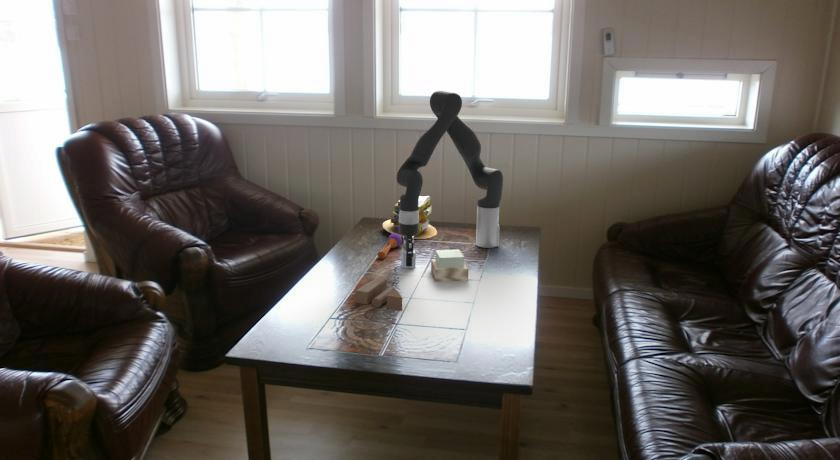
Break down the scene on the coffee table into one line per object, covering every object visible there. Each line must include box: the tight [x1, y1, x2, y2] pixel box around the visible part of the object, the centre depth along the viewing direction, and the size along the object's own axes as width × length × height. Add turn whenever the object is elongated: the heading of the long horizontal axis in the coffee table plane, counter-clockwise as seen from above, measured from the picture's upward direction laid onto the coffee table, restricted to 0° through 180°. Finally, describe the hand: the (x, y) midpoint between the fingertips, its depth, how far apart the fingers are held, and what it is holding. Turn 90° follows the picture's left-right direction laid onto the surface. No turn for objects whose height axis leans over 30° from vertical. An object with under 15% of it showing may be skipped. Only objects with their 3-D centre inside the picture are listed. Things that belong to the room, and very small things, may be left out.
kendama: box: [377, 233, 403, 260], centre depth 270 cm, size 6×6×20 cm
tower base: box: [430, 258, 470, 283], centre depth 243 cm, size 12×12×5 cm
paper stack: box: [382, 195, 438, 240], centre depth 297 cm, size 25×25×17 cm
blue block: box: [400, 248, 417, 269], centre depth 253 cm, size 5×5×6 cm
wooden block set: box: [355, 275, 403, 312], centre depth 220 cm, size 17×6×18 cm
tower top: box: [435, 249, 465, 268], centre depth 242 cm, size 9×9×4 cm
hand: (408, 263), depth 253 cm, fingers closed on blue block, 5 cm apart
